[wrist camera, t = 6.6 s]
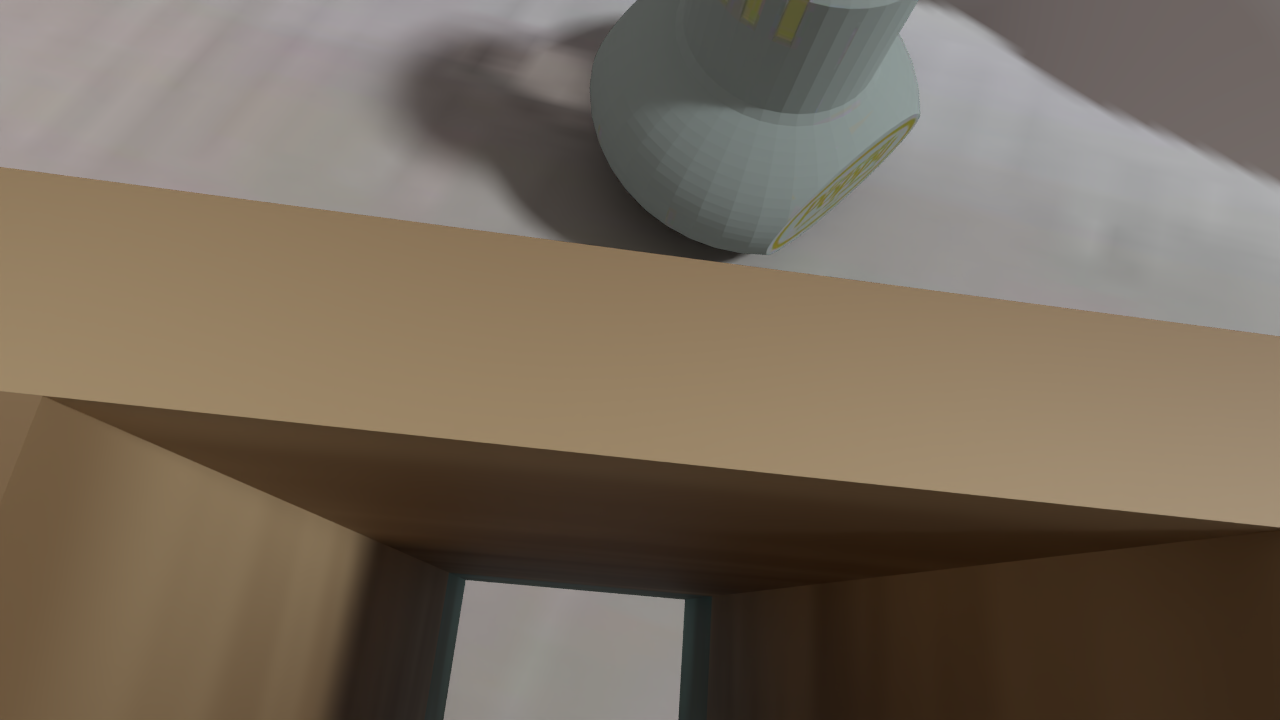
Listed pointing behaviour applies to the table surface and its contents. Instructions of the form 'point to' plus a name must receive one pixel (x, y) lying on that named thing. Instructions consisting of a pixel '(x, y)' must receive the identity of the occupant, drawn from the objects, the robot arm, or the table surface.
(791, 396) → the banded sleeve
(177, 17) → the table surface
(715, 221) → the air freshener
